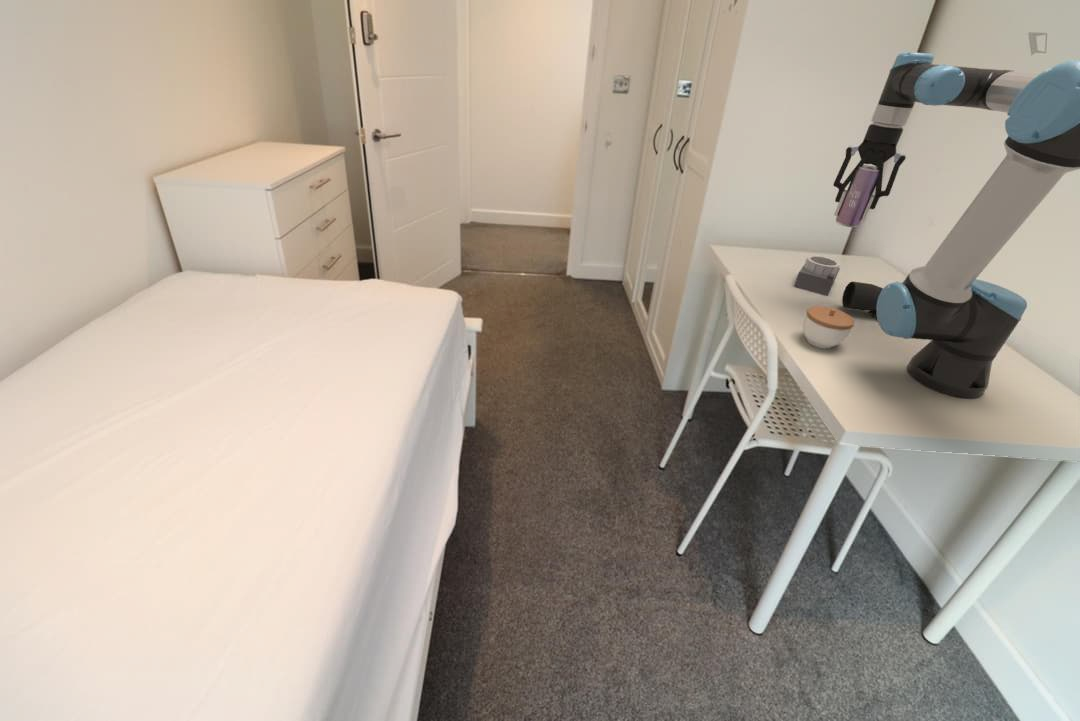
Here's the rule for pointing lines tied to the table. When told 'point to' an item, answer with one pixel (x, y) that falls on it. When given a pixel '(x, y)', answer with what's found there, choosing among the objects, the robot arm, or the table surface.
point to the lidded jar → (826, 326)
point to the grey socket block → (818, 274)
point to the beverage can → (858, 196)
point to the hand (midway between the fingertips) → (849, 217)
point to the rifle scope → (861, 297)
